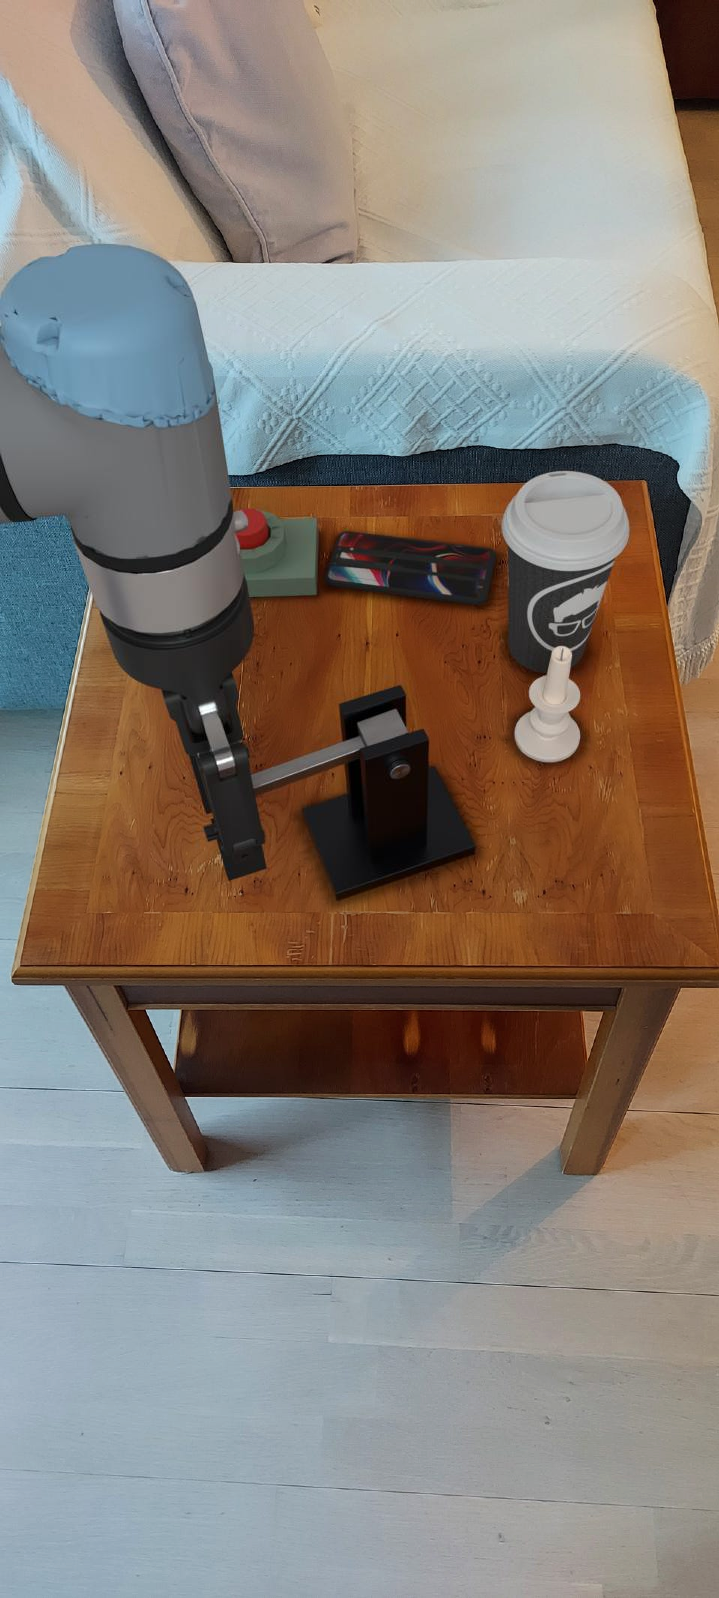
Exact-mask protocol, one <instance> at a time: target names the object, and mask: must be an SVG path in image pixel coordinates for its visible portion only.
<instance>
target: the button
mask: <svg viewBox="0 0 719 1598" xmlns="http://www.w3.org/2000/svg"><path fill="white" fill-rule="evenodd" d="M240 510H242V511H243V512H244V514H245V515H246V516H247V519H248V528H247V529H245V530H244V531H242V532H238V533H235V535H236V537H237V539H238V542H239V545H240V549H241V550H242V549H255V548H257V547H259V546H262V545H263V544H264V543H265V542H266V541H267V539H268V528H267V522H266V517H265V516H264V514H263V513H262V512H260V511H258V510H259V509H255V508H241V509H238V510H237V511H240Z"/></svg>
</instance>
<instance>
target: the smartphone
mask: <svg viewBox="0 0 719 1598" xmlns="http://www.w3.org/2000/svg"><path fill="white" fill-rule="evenodd" d="M496 561H497V553H496V551H495V550H494V549H493V548H489V547H483V546H482V547H481V546H475V545H474V546H473V545H466V544H457V543H448V542H441V541H432V540H425V539H418V538H417V539H416V538H409V537H399V536H391V535H385V534H376V533H375V534H373V533H366V532H359V531H351V530H345V531H342V532H340V533H339V534H338V535H337V538H336V541H335V544H334V547H333V550H332V552H331V556H330V559H329V562H328V564H327V567H326V571H325V573H324V582H325V584H326V585H327V586H329V587H334V588H340V589H341V588H342V589H350V590H357V591H363V592H373V593H381V594H386V595H387V594H388V595H396V596H403V597H409V598H410V597H411V598H420V599H425V600H426V599H427V600H433V601H442V602H449V603H457V604H464V605H472V606H482V605H484V604H485V603H487V602H488V599H489V594H490V589H491V586H492V579H493V575H494V571H495V570H494V569H495V565H496Z"/></svg>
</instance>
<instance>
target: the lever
mask: <svg viewBox="0 0 719 1598" xmlns="http://www.w3.org/2000/svg"><path fill="white" fill-rule="evenodd" d="M357 727H358V732H359V736H357V737H355V738H352V739H349V740H346V741H344V742H342V741H340V742H338V743H335V744H332V745H329V746H327V747H324V748H322V749H319V750H316V751H314V752H311V753H307V754H305V755H302V756H299V757H297V758H294V759H292V760H288V761H285V762H282V763H280V764H277V765H274V766H272V767H269V768H266V769H264V770H261V771H258V772H255V773H252V774H251V778H252V783H253V788H254V793H255V797H258V796H261V795H263V794H266V793H269V792H272V791H274V790H277V789H279V788H283V787H285V786H288V785H291V784H294V783H297V782H299V781H302V780H305V779H307V778H310V777H312V776H315V775H319V774H321V773H325V772H326V771H329V770H332V769H334V768H338V767H340V766H343V765H344V764H346V763H348V762H351V761H354V760H357V759H359V758H360V748H363V747H366V746H369V745H373V744H376V743H379V742H382V741H385V740H388V739H392V738H395V737H398V736H401V735H404V734H407V733H409V731H408V728H407V726H406V727H405V725H404V723H403V721H402V719H401V717H400V715H399V713H398V711H397V709H393V710H390V711H387V712H385V713H382V714H379V715H376V716H374V717H371V718H368V719H365V720H362V721H360V722H357Z"/></svg>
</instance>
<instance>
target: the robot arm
mask: <svg viewBox="0 0 719 1598" xmlns="http://www.w3.org/2000/svg"><path fill="white" fill-rule="evenodd" d="M190 287H191V286H190V285H189V283H188V282H187V280H186V279H185V277H184V276H183V274H182V273H181V272H180V271H179V270H178V268H176V267H175V266H174V265H172V264H171V262H169V261H168V260H166V259H164V258H163V257H161V256H160V255H157V254H155V253H153V252H151V251H148V250H145V249H142V248H139V247H137V246H132V245H125V244H117V243H91V244H90V243H89V244H81V245H75V246H71V247H69V248H68V249H67V250H66V251H65V252H64V253H62V254H59V255H55V256H53V255H52V256H49V255H47V256H40V257H38V258H36V259H34V260H32V261H30V262H29V263H27V264H26V265H24V266H23V267H21V268H20V269H19V270H18V271H17V272H16V273H15V274H14V275H12V277H10V279H9V280H8V282H7V283H6V285H5V286H4V287H3V289H2V291H1V293H0V525H2V524H11V523H25V522H26V523H27V522H28V523H29V522H34V521H36V520H37V519H40V518H41V519H42V518H50V517H59V516H64V517H65V519H66V520H67V522H68V523H69V526H70V528H69V529H70V531H71V536H72V541H73V544H74V547H75V550H76V553H77V556H78V559H79V561H80V564H81V567H82V570H83V573H84V576H85V578H86V581H87V584H88V587H89V589H90V593H91V596H92V598H93V601H94V603H95V606H96V608H97V609H98V612H99V615H100V618H101V621H102V625H103V628H104V630H105V633H106V636H107V639H108V642H109V645H110V648H111V650H112V653H113V657H114V659H115V660H116V662H117V664H118V665H119V667H120V668H121V669H122V670H123V671H124V672H125V674H126V675H128V676H129V677H130V678H131V679H133V680H134V681H136V682H138V683H140V684H142V685H144V686H146V687H150V688H153V689H157V690H161V695H162V697H163V701H164V704H165V707H166V710H167V714H168V716H169V718H170V719H171V720H172V721H174V722H175V725H176V728H177V731H178V734H179V737H180V741H181V744H182V746H183V749H184V752H185V753H186V755H188V757H189V761H190V764H191V768H192V771H193V774H194V777H195V782H196V784H197V785H196V786H197V788H198V793H199V795H200V799H201V803H202V806H203V809H204V812H205V815H210V814H211V815H212V818H210V822H211V823H210V824H207V825H203V826H202V828H203V832H204V834H205V835H204V836H205V838H206V841H207V843H209V842H213V841H216V843H217V846H218V847H217V848H218V850H219V851H218V852H219V854H220V858H221V861H222V865H223V868H224V871H225V875H226V878H227V881H228V882H230V881H234V880H236V879H239V878H243V877H245V876H249V875H252V874H256V873H259V872H262V871H264V870H267V869H268V866H267V862H266V856H265V852H264V849H263V845H264V844H266V837H267V835H266V832H265V830H264V829H263V826H262V821H261V817H260V813H259V806H258V803H257V796H255V793H254V788H253V783H252V778H251V775H252V774H251V764H250V763H251V762H250V757H251V753H250V750H249V747H247V745H246V743H244V741H242V740H243V738H244V732H243V731H244V730H243V727H242V722H241V719H240V715H239V711H238V707H237V704H238V701H239V700H240V697H239V696H240V695H239V691H238V688H237V684H236V680H235V677H234V673H233V671H235V670H236V669H237V668H238V667H239V665H240V664H241V663H242V662H243V661H244V659H245V658H246V657H247V655H248V654H249V652H250V651H251V650H250V649H251V647H252V644H253V641H254V636H255V621H254V616H253V611H252V604H251V597H249V592H248V586H247V581H246V578H245V576H244V574H243V563H242V557H241V551H240V545H239V542H238V539H237V537H236V535H235V533H238V532H242V531H244V530H245V529H247V528H248V519H247V516H246V515H245V514H244V512H243V511H242V510H241V509H239V510H240V511H238V510H236V511H234V503H233V502H234V501H233V497H232V488H231V483H230V482H231V481H230V477H229V469H228V463H227V455H226V449H225V443H224V435H223V429H222V422H221V416H220V410H219V409H220V408H219V403H218V397H217V390H216V389H217V388H216V383H215V378H214V368H213V366H212V363H211V362H210V359H209V356H208V351H207V346H206V341H205V338H204V334H203V328H202V324H201V319H200V315H199V311H198V306H197V303H196V299H195V297H194V294H193V291H192V289H191V288H190Z"/></svg>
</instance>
